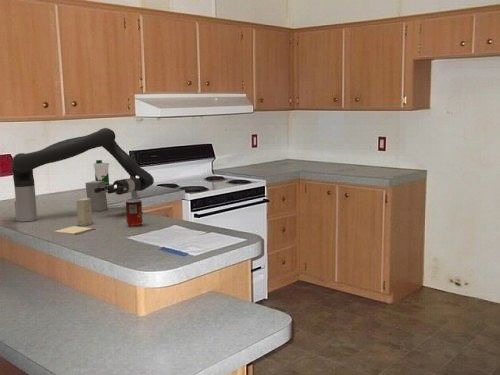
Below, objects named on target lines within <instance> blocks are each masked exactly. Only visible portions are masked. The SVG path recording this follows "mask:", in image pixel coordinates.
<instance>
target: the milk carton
mask: <svg viewBox="0 0 500 375" xmlns="http://www.w3.org/2000/svg"><path fill="white" fill-rule="evenodd" d="M109 165H110V163H109V162H103V160H102V159H98V160H97V159H96V160H95V163H93V167H94V178H95V180H94V181H104V183H105V185H110V175H109V167H110V166H109Z"/></svg>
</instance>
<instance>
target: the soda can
mask: <svg viewBox="0 0 500 375" xmlns="http://www.w3.org/2000/svg"><path fill="white" fill-rule="evenodd" d="M142 202H143V201H142V200H141V199H140V198H129V199H126V201H125V212H126V223H127V224H128V227H131V228H136V227H137V228H138V227H141V226H142V223H143V206H142V205H143V204H142Z"/></svg>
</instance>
